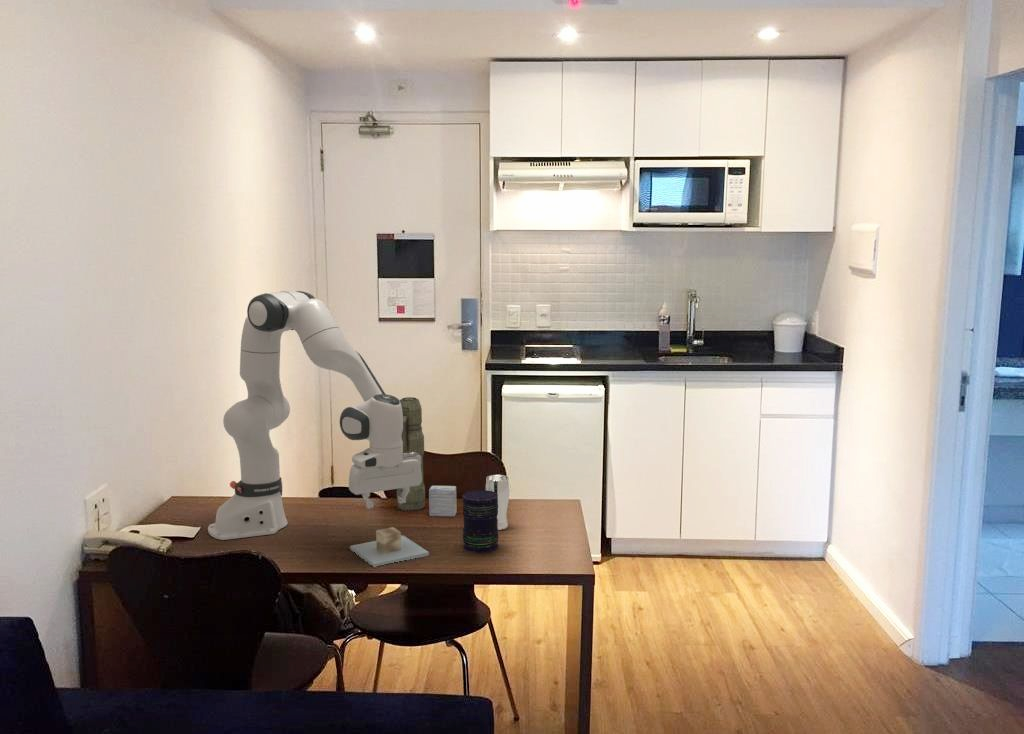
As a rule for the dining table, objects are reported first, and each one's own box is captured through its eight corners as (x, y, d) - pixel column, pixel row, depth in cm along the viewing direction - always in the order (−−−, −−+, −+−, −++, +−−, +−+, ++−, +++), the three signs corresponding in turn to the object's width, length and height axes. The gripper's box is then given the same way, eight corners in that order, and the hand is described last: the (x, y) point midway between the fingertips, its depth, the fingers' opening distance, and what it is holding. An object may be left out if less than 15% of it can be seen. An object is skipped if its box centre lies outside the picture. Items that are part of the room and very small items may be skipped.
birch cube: (384, 553, 237) (383, 535, 236) (376, 548, 241) (376, 530, 240) (401, 549, 239) (400, 532, 239) (393, 544, 243) (392, 527, 243)
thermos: (392, 512, 275) (390, 402, 269) (402, 501, 286) (399, 395, 281) (420, 513, 274) (418, 402, 268) (428, 502, 285) (427, 395, 280)
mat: (374, 567, 229) (374, 564, 229) (350, 549, 243) (350, 545, 242) (428, 555, 238) (428, 552, 238) (402, 538, 251) (402, 535, 251)
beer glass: (488, 531, 257) (487, 481, 255) (483, 523, 264) (483, 475, 262) (511, 529, 258) (511, 480, 256) (506, 522, 265) (506, 473, 263)
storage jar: (462, 541, 249) (462, 490, 247) (497, 540, 249) (497, 489, 247) (462, 554, 239) (462, 500, 237) (499, 553, 240) (498, 500, 237)
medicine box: (456, 512, 274) (456, 485, 273) (454, 517, 270) (454, 489, 269) (431, 512, 275) (431, 485, 274) (429, 516, 271) (428, 489, 270)
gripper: (415, 448, 244) (415, 496, 246) (346, 457, 233) (346, 507, 236) (426, 453, 239) (425, 502, 241) (355, 462, 228) (355, 514, 230)
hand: (386, 505), depth 238 cm, fingers open, 8 cm apart
